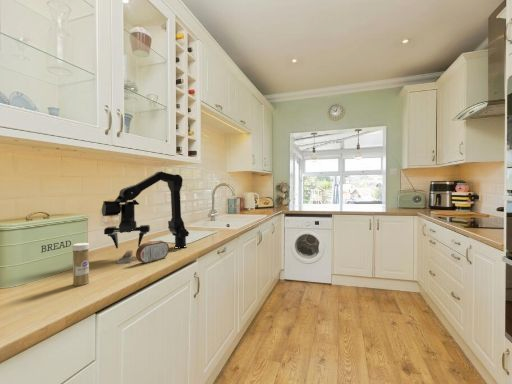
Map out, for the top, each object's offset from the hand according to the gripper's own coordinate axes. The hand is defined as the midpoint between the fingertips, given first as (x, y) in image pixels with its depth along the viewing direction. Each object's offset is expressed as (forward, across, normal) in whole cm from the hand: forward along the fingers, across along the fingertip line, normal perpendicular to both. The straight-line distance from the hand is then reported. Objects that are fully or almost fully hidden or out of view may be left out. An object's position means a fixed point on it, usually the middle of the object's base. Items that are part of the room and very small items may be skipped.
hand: (128, 247), depth 119 cm
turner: (+4, 0, -3) cm, 5 cm away
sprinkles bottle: (+4, -9, -33) cm, 35 cm away
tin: (+5, +12, -11) cm, 17 cm away
